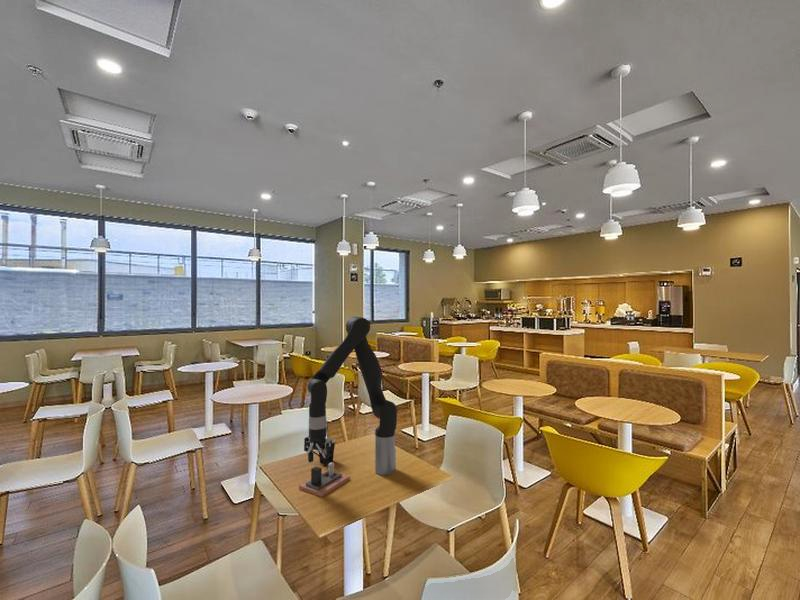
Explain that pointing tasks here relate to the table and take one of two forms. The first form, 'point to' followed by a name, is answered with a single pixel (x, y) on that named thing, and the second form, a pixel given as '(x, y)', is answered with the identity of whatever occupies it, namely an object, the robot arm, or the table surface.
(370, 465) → the table surface
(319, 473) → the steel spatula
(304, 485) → the pink board with peg
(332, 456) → the coffee mug
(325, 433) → the robot arm
